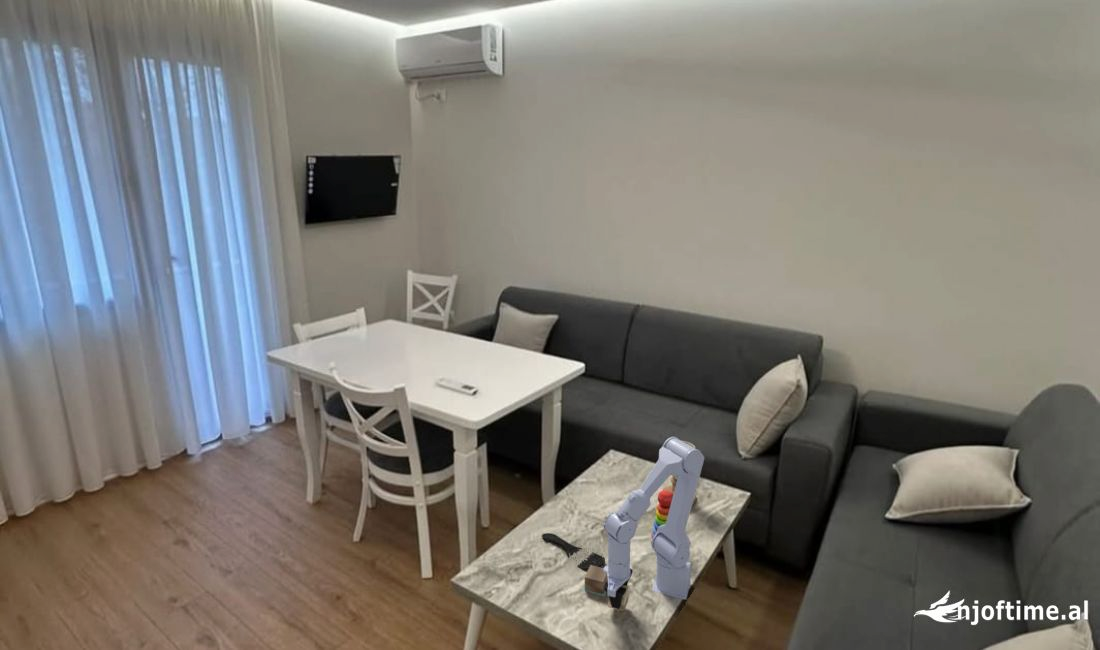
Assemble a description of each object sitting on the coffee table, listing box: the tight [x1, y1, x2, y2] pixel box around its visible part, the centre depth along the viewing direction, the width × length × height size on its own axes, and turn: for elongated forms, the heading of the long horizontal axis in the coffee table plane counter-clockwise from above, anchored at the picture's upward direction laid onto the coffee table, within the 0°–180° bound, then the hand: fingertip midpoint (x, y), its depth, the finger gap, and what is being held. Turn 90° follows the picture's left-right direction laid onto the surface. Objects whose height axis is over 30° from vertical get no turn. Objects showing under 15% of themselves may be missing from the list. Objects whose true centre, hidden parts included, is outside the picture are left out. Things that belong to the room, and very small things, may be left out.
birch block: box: [607, 585, 629, 612], centre depth 150 cm, size 4×4×4 cm
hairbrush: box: [541, 532, 606, 572], centre depth 174 cm, size 8×4×25 cm
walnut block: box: [584, 565, 608, 594], centre depth 159 cm, size 5×5×4 cm
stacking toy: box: [650, 489, 673, 545], centre depth 175 cm, size 8×8×19 cm
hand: (618, 600), depth 150 cm, fingers closed on birch block, 4 cm apart
